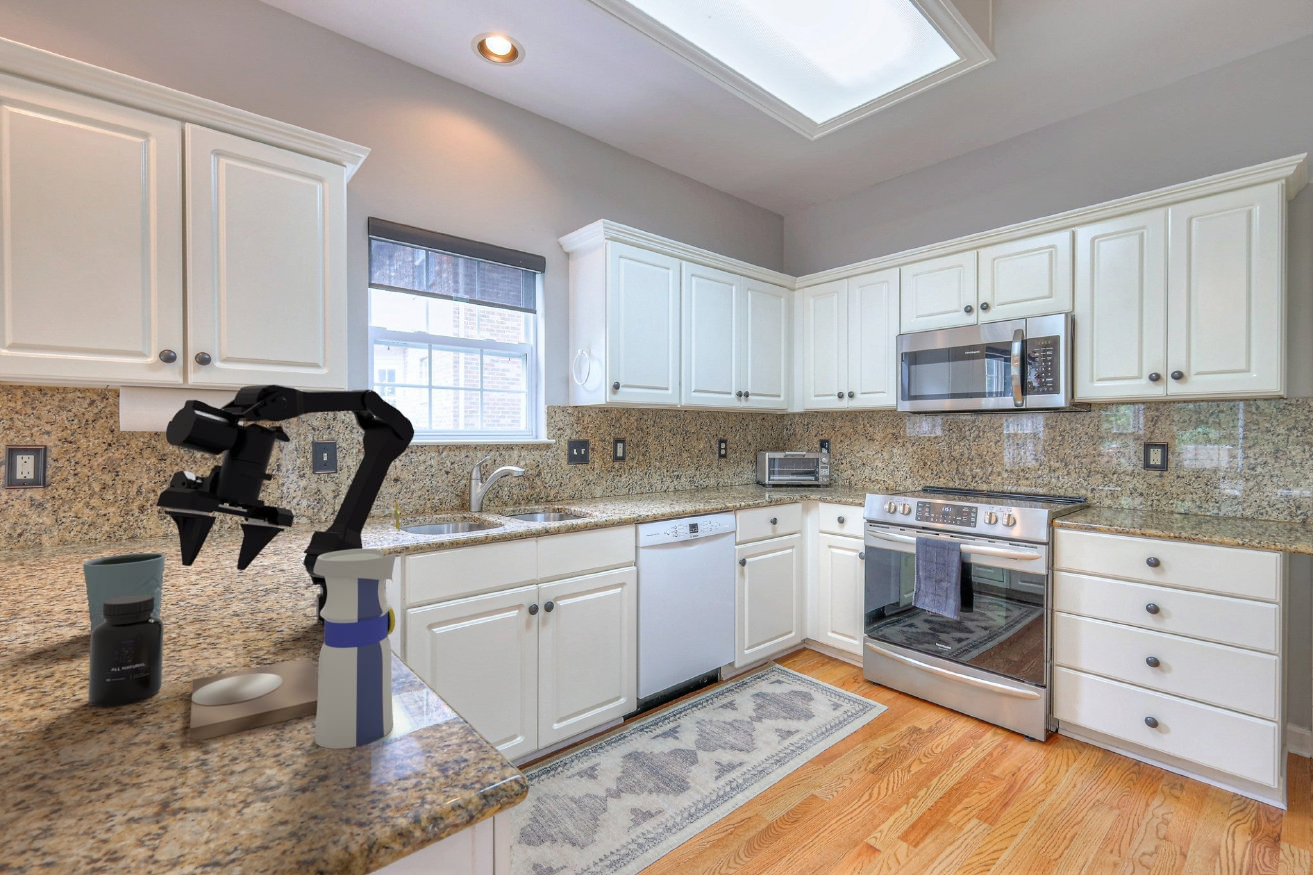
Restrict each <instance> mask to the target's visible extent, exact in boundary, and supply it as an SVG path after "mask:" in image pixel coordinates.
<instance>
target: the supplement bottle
mask: <svg viewBox="0 0 1313 875" xmlns="http://www.w3.org/2000/svg"><path fill="white" fill-rule="evenodd" d="M154 611H155V607H154V596H150V595H135V596H126V597H119V598H114V599H110V600H107V601H105V602H104V604H103V613H102V618H104V619H105V622H103V623H101V624H99V625H98V626H97V627H96V628H95V629H94V630H93V631H92V633H91V632H90V633H91V634H90V643H89V644H90V645H89V646H90V647H89V648H90V649H89V668H88V671H89V672H88V702H89V703H90V705H92V706H94V707H100V708H101V707H102V708H103V707H104V708H106V707H118V706H124V705H128V704H133V703H137V702H141V701H143V700H145V699H148V698H150V697H153V696H154V695H156V694H158V692H159V691H160V690H161V688H162V684H163V683H162V682H163V681H162V679H163V658H164V657H163V656H164V655H163V654H164V653H163V652H164V631H165V630H164V625H165V624H164V622H163V621H162V619H161V618H160V619H159V618H157V617H155V616H152V613H153V612H154Z"/></svg>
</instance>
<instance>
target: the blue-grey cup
mask: <svg viewBox="0 0 1313 875" xmlns="http://www.w3.org/2000/svg"><path fill="white" fill-rule="evenodd" d="M165 560H166V555H165V554H164V553H159V552H142V553H141V552H140V553H128V554H120V555H114V556H113V555H112V556H111V555H110V556H105V557H100V558H96V559H91V560H87V561H85V562H84V563H83V565H82V567H83V573H84V574H83V575H84V582H85V587H86V595H87V597H86V599H87V601H88V604H87V607H88V613H89V622H90V633H92V631H93V630H94V629H95V628H96V627H97V626H98V625H99V624H101V623H103V622H105V619H104V618H102V613H103V604H104V602H105V601H107V600H110V599H114V598H119V597H126V596H135V595H150V596H154V607H155V611H154V612H153V613H152V616H155V617H157V618H159V619H160V620H161V611H162V609H161V608H162V594H163V593H162V592H163V584H164V575H163V574H164V570H165V562H166V561H165Z"/></svg>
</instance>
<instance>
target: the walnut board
mask: <svg viewBox="0 0 1313 875" xmlns="http://www.w3.org/2000/svg"><path fill="white" fill-rule="evenodd" d="M191 687H192V688H191V690H192V691H191V706H190V707H191V708H190V723H189V724H190V725H189V743H190V744H191V743H195V742H200V741H205V740H208V739H213V738H216V737H220V736H225V735H229V734H234V733H237V732H238V733H239V732H242V731H248V730H251V729H255V728H259V727H263V726H269V725H272V724H277V723H280V722H285V721H289V720H293V719H298V718H301V717H306V716H310V715H314V714H317V701H318V670H317V668H316V666H315V663H314V662H313V659H312V658H311V657H307V658H304V659H303V658H302V659H297V660H292V661H287V662H280V663H274V664H269V665H266V666H265V665H264V666H260V667H253V668H247V669H244V670H238V671H233V672H226V673H222V674H216V675H210V676H206V677H205V676H204V677H200V678H199V677H198V678H195V679H194V678H193V679H192V686H191Z"/></svg>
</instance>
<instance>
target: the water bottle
mask: <svg viewBox="0 0 1313 875" xmlns="http://www.w3.org/2000/svg"><path fill="white" fill-rule="evenodd" d="M398 506H399V505H398V501H395V510H394V512H393V513H394V517H395V529H396V530H397V531H398V532H400V531H401V527H400V526H401V525H400V515H401V514H400V512H399V507H398ZM396 557H397V555H396V553H391V554H388V555H385V554H384V552H383V551H382V550H380V549H377V548H363V549H351V550H342V551H335V552H329V553H325V554H322V555H320V556H318V558H317V561H316V563H315V566H314V570H313V572H314V573H315V574H317V575H320V576H325V580H326V585H327V600H326V604H325V606H324V607H323V609H322V610H321V612H320V615H321V617H323V618H324V619H325V620H324V626H323V627H324V629H323V631H324V632H323V633H324V635H323V637H324V638H323V640H324V641H323V644H322V646H321V650H320V652H319V657H318V658H319V659H318V670H317V672H318V701H317V713H316V715H315V716H316V717H315V718H316V719H315V731H314V742H315V744H316V745H318V746H320V747H322V748H325V749H332V750H333V749H334V750H335V749H336V750H339V749H343V750H344V749H350V748H357V747H360V746H364V745H367V744H371V743H374V742H375V741H376V742H377V741H378V740H379V739H381V738H383V737H385V736H386V735H387V734H389V733H390V732H391V730H392V729H393V727H394V714H393V712H394V711H393V694H392V693H393V691H392V690H393V689H392V687H393V685H392V645H391V640H390V638H389V635H391V634H392V633H393V632H394V630H395V627H396V615H395V612H394V609H393V608H392V607H393V606H392V604H391V602H390V601H389V599H388V597H387V593H386V582H387V580H391V581H392V583H394V581H393V573H394V565H395V561H396Z"/></svg>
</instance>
